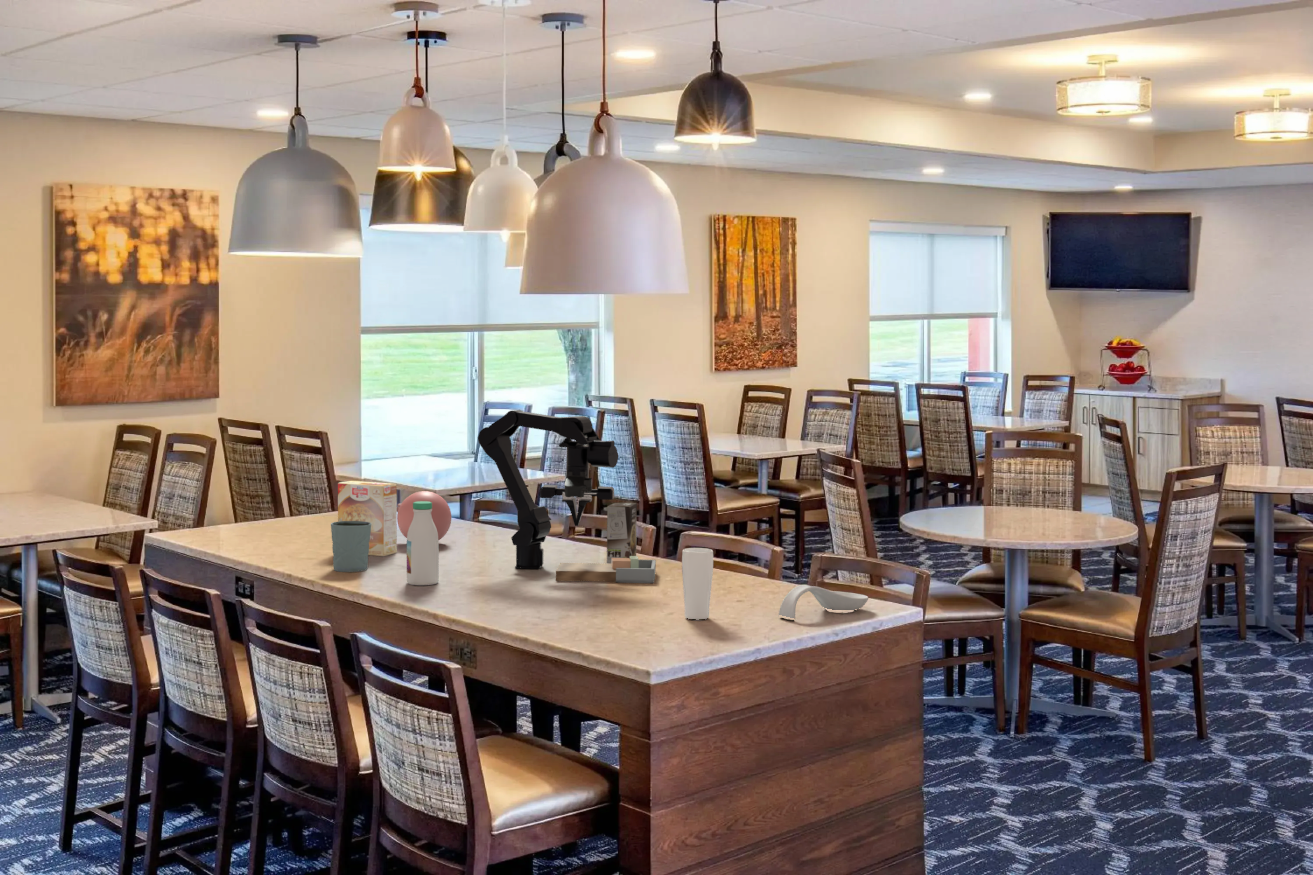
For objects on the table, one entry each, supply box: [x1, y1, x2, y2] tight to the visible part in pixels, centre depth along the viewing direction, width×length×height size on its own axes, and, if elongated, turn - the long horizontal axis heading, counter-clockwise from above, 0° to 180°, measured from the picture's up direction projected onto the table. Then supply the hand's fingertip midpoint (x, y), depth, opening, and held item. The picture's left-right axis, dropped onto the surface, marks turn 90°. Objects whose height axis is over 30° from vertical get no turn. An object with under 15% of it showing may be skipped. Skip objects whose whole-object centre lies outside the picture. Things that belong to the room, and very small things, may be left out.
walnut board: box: [555, 562, 616, 583], centre depth 352 cm, size 15×12×2 cm
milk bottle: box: [406, 501, 440, 586], centre depth 340 cm, size 8×8×20 cm
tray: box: [615, 558, 657, 584], centre depth 352 cm, size 9×14×4 cm
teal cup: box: [330, 521, 371, 573], centre depth 359 cm, size 10×10×12 cm
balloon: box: [397, 490, 452, 542], centre depth 403 cm, size 15×20×15 cm
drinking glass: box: [681, 547, 714, 621], centre depth 303 cm, size 7×7×15 cm
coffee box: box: [606, 502, 638, 564], centre depth 371 cm, size 9×6×16 cm
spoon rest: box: [778, 584, 869, 619], centre depth 310 cm, size 24×12×7 cm, turn 131°
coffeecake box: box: [337, 480, 398, 557], centre depth 385 cm, size 15×7×20 cm, turn 68°
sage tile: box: [629, 555, 639, 568], centre depth 352 cm, size 4×4×2 cm
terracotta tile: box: [611, 558, 630, 569], centre depth 352 cm, size 4×4×2 cm
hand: (576, 525), depth 359 cm, fingers closed
